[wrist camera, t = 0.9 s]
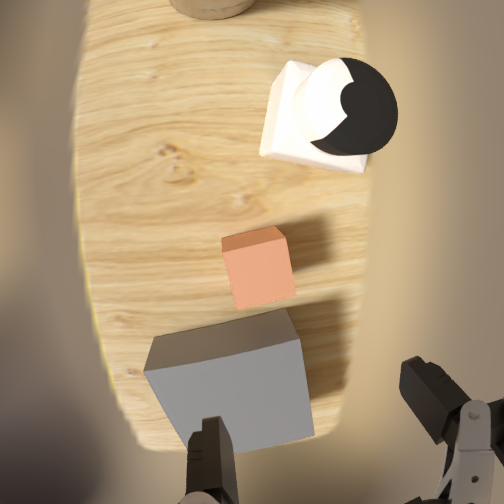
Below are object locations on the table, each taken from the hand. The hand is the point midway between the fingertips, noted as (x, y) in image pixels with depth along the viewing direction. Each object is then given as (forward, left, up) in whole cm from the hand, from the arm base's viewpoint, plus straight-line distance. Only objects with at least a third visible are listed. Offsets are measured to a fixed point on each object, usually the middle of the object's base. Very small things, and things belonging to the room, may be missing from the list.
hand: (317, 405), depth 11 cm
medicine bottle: (-12, +7, -19) cm, 23 cm away
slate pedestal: (+12, -5, -19) cm, 23 cm away
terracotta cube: (-1, 0, -19) cm, 19 cm away
